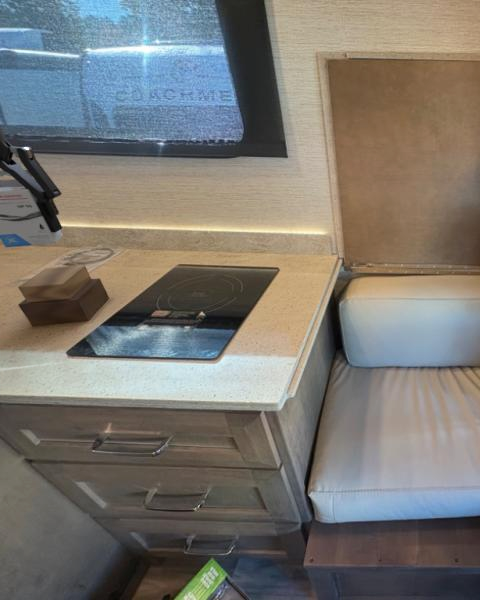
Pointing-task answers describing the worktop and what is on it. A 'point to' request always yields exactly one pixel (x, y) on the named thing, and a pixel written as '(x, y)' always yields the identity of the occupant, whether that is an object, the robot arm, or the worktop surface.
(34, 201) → the ink box
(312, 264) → the worktop surface
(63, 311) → the box stack
